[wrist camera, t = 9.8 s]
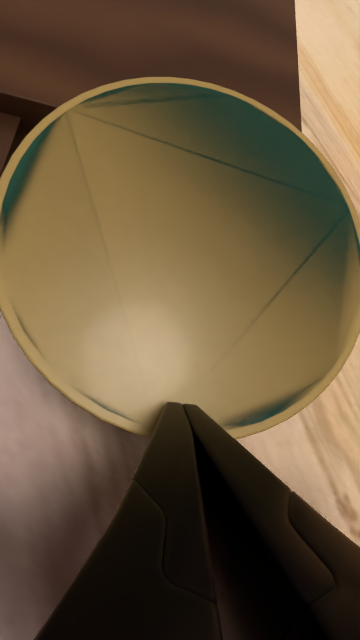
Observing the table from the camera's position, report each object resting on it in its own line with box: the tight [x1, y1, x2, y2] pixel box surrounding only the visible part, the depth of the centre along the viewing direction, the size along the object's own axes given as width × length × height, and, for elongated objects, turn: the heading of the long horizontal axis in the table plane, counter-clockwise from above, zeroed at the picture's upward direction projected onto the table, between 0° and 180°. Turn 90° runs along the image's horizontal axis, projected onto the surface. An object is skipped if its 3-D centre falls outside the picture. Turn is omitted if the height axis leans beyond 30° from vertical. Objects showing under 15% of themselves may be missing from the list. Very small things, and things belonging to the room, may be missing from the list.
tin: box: [0, 77, 360, 439], centre depth 14 cm, size 12×12×7 cm
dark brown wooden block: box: [0, 0, 302, 178], centre depth 18 cm, size 30×24×5 cm
